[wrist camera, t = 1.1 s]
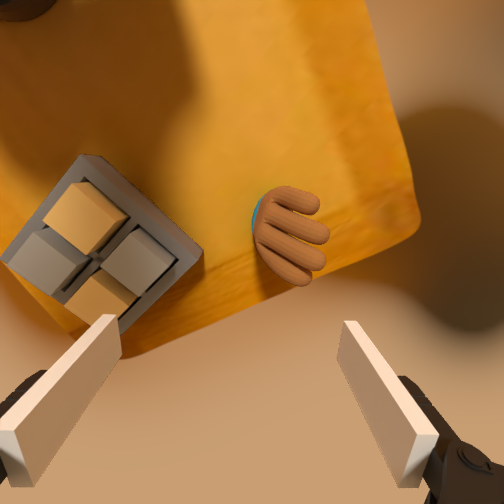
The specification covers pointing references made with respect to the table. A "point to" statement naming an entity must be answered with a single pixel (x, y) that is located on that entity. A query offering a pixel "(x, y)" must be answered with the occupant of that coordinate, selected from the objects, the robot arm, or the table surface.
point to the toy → (283, 245)
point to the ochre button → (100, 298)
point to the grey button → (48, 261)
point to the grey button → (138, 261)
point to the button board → (140, 216)
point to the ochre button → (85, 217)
